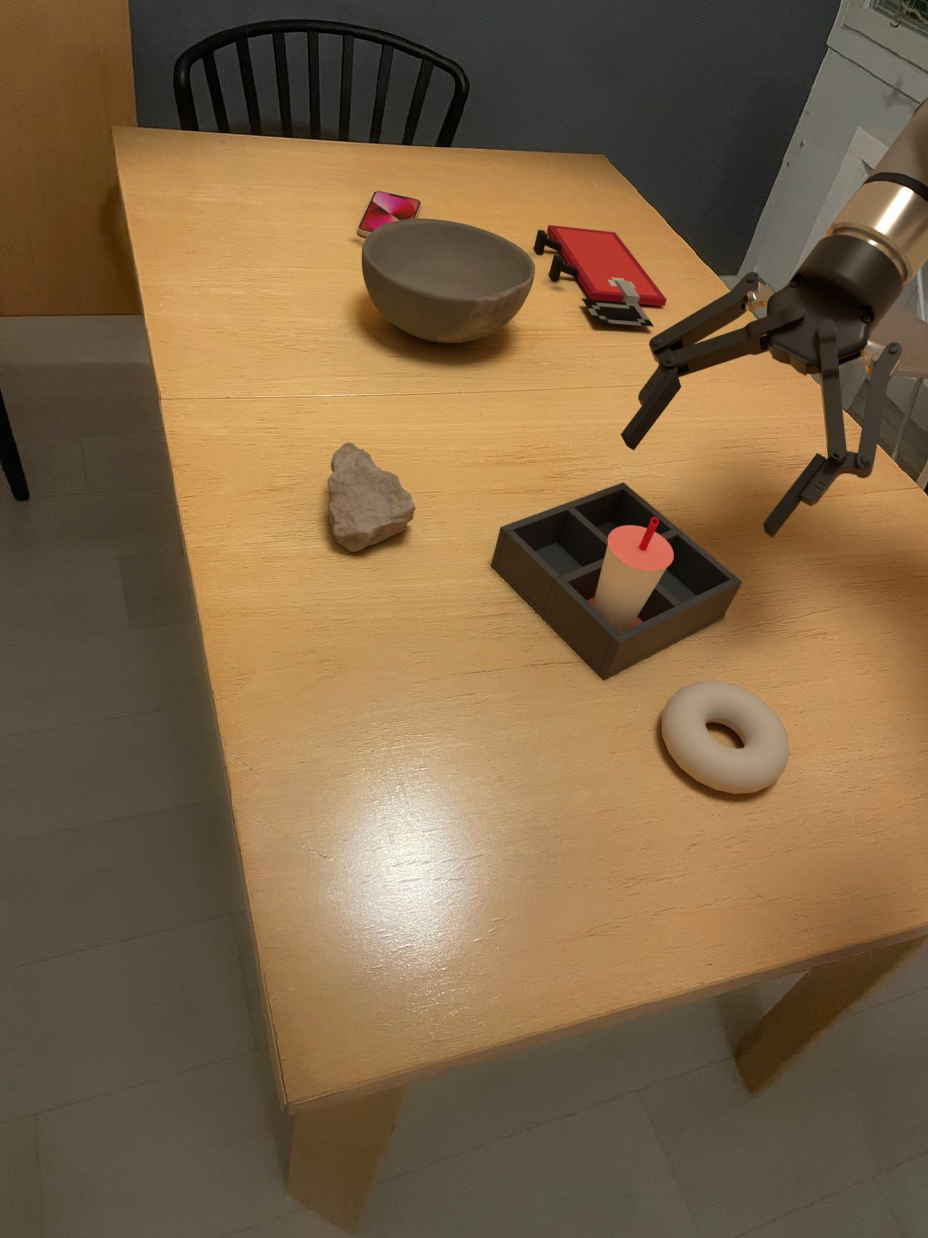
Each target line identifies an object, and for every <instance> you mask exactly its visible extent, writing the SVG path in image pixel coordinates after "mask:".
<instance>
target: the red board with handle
mask: <svg viewBox="0 0 928 1238" xmlns="http://www.w3.org/2000/svg"><path fill="white" fill-rule="evenodd" d="M548 235H549V237H550V238H549V237H548ZM545 247H547V248H549V249H552V250H554V251H557V252H559V253H560V254H554V255H553V257H552V260H551V264H550V268H549V272H548V276H549V277H550V278H551V280H552V281H557V282H558V281H560V277H561V274H562V273H564V274H566V275H569V276H571V277H574V278H575V279H576V278H577V280H578V282H579V283H580V285H581V286H582V288H583V289H584V291H585V292H586V294H587V296H588V297H589V298H583V297H582V298H581V300H582V302H583V303H584V305H585V307H586V309H587V310H588V312H589V313H590V314H591V316H592V318H593V320H594V321H595V322H596V323H603V324H605V323H606V324H615V325H616V324H618V325H619V324H620V325H630V326H640V327H641V326H642V327H655V325H654V324H653V322H652V321H651V320H650V318H649V317H648V315H647V314H646V313H645V312H644V310H643V308H642V307H641V305H650V306H659V307H665V306H666V304H667V300H668V299H667V297H666V296H665V295H664V294H663V292H661V290H660V288H659V287H658V286H657V285H656V284H655V282H654V281H653V280H652V278H651V276H649V275H648V273H647V272H646V271H645V269H644V268H643V266H642V265H641V264H640V263H639V261H638V260H637V258H636V257H635V256H634V255H633V253H632V252H631V251H630V249H629V248H628V247H627V246H626V244H625V243H624V242H623V240H622V239H621V238H620V236H619V235H618V234H617V233H616V232H615V231H607V230H606V231H605V230H599V229H589V228H580V227H572V226H571V227H570V226H564V225H563V226H561V225H552V224H548V226H547V228H546V231H545V230H543V229H537V233H536V236H535V241H534V245H533V250H534V252H535V253H536V255H541V256H542V255H544V253H545ZM561 255H562V256H561ZM562 257H563V258H564V259H563V258H562ZM564 260H565V261H566V262H564Z"/></svg>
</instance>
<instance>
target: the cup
mask: <svg viewBox="0 0 928 1238" xmlns="http://www.w3.org/2000/svg"><path fill="white" fill-rule="evenodd" d="M658 523H659V520H658V518H656V517H653V518H652V519H651V521H650V523H649V526H648V528H644V527H641V526H634V525H625V526H620V527H617V528H615V529H614V530H612V531H611V532H610V534H609V536H608V546H607V550H606V554H605V558H604V562H603V566H602V570H601V574H600V578H599V582H598V586H597V590H596V594H595V598H594V602H593V607H594V608H595V609H596V610H597V611H598V612H599V613H600V614H601V615H602V616H603V617H604V618H605V619H606V620H607V621H608V622H609V623H610V624H611V625H612V626H613V627H614V628H615V629H617V630H618V631H619V632H620V633H622V632H624V631H626V630H628V629H630V627H631V625H632V624H633V622H634V621H635V619H636V617H637V616H638V614H639V613H640V611H641V609H642V608H643V606H644V604H645V603H646V601H647V599H648V598H649V596H650V595H651V593H652V591H653V590H654V588H655V586H656V585H657V583H658V581H659V580H660V578H661V576H662V575H663V573H664V571H665V570H666V568H667V567H668V566H669V565H670V564H671V563H672V561H673V558H674V553H673V550H672V547H671V546H670V544H669V543H668V542H667V541H666V540H665V539H664V538H663V537H662V536H661V535H659V534H658V533H656V532H655V530H656V527H657V525H658Z"/></svg>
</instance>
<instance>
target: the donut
mask: <svg viewBox="0 0 928 1238" xmlns="http://www.w3.org/2000/svg"><path fill="white" fill-rule="evenodd" d="M660 718H661V720H660V721H661V736H662V739H663V742H664V744H665V747H666V749H667V751H668V754H669V755H670V756H671V758H672V759H673V760H674V761H675V763H676V764H677V765H678V767H679V768H680V769H681V770H682V771H684V772H685V773H686V774H687V775H689V776H690V777H691V778H692V779H693V780H695V782H696V781H697V782H698V783H700V784H702V785H705V786H707V787H708V788H711V789H713V790H715V791H719V792H724V793H728V794H733V795H737V794H739V795H740V794H751V793H757V792H759V791H761V790H763V789H766V788H768V787H770V786H772V785H773V784H774V783H775V782H777V780H778V779H779V778H780V777H781V775H782V774H784V772H785V770H786V768H787V764H788V761H789V757H790V753H791V751H790V743H789V738H788V737H789V736H788V732H787V730H786V728H785V726H784V724H783V722H782V720H781V719H780V717H779V716H778V714H777V713H776V712H775V711H774V710H773V709H772V708H771V707H770V705H768V703H767V702H766V701H764V700H763V699H762V698H760V697H759V696H757V695H756V694H755V693H754V692H752V691H750V690H749V689H746V688H744V687H742V686H739V685H737V684H733V683H729V682H724V681H720V680H699V681H696V682H693V683H690V684H687V685H685V686H682V687H681V688H680V689H678V690H677V691H676V692H675V693H673V695H671V696H670V697H669V699H668V700H667V702H666V704H665V707H664V709H663V711H662V714H661V717H660ZM708 723H716V724H721V725H723V726H725V727H728V728H729V729H730V730H732V731H733V732H735V733H736V734H737V736H739V738H740V740H741V741H742V744H743V747H741V748H740V747H739V748H734V747H730V746H727V745H725V744H723V743H721V742H719V741H718V740H717V739H715V738H714V737H713V736H712V734H710V732H709V731H708V729H707V726H706V724H708Z"/></svg>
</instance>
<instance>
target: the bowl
mask: <svg viewBox="0 0 928 1238" xmlns="http://www.w3.org/2000/svg"><path fill="white" fill-rule="evenodd" d="M361 271H362V277H363V281H364V285H365V288H366V291H367V293H368V296H369V298H370V299H371V302H372V303H373V305H374V307H375V308H376V310H377V311H378V312H379V313H380V314H381V315H382V317H384V318H385V320H387V321H389V322H390V323H391V324H392V325H394V326H395V327H397V328H398V329H399V330H401V331H404V332H405V333H407V334H409V335H411V336H413V337H415V338H419V339H422V340H425V341H428V342H433V343H442V344H457V343H458V344H460V343H470V342H472V341H477V340H480V339H483V338H485V337H488V336H489V335H491V334H493V333H495V332H496V331H498V330H501V329H502V328H504V327H505V326H507V325H508V324H509V322H511V321H512V320H513V319H514V317H516V316H517V314H518V313H519V311H520V310H521V309H522V307H523V306H524V304H525V302H526V300H527V298H528V296H529V294H530V292H531V290H532V287H533V283H534V279H535V275H536V265H535V262H534V261H533V259H532V258H531V256H530V255H529V254H528V253H527V252H526V250H524V249H522V247H520V246H519V245H517V244H516V243H514V242H513V241H510V240H508V239H507V238H505V237H503V236H501V235H498V234H497V233H495V232H491V231H489V230H486V229H483V228H480V227H477V226H473V225H469V224H466V223H462V222H458V221H457V222H456V221H452V220H445V219H437V218H424V217H423V218H421V217H420V218H418V217H417V218H416V219H407V220H400V221H395V222H391V223H387V224H385V225H382V226H380V227H378V228H377V229H375V230H374V231H373V232H371V233H370V234H369V235H368V236H367V237H365V239H364V241H363V243H362V247H361Z"/></svg>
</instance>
